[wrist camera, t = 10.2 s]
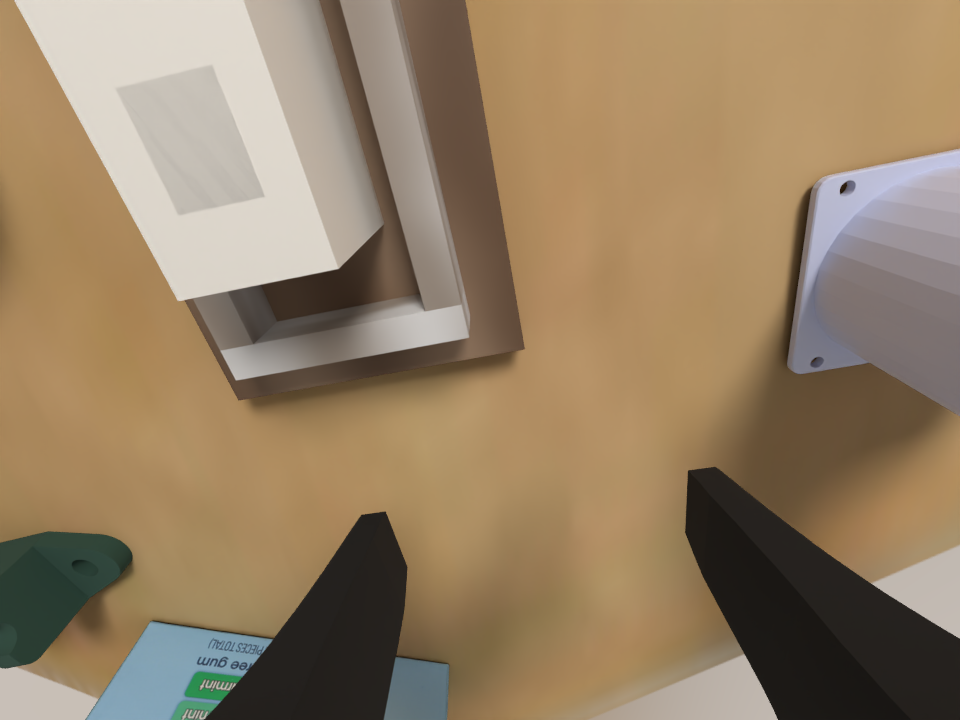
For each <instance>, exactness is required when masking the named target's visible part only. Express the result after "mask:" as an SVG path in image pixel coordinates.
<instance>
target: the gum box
mask: <svg viewBox="0 0 960 720" xmlns="http://www.w3.org/2000/svg"><path fill="white" fill-rule="evenodd" d="M272 640H273V639H268V638H261V637H254V636H247V635H240V634H234V633H227V632H220V631H213V630H206V629H200V628H193V627H186V626H179V625H173V624H166V623H160V622H154V621H150V623H149V624H148V626H147V627H146V629H145V630H144V632H143V633H142V635H141V636H140V638H139V639H138V641H137V642H136V644H135V645H134V647H133V648H132V650H131V651H130V653H129V654H128V656H127V657H126V659H125V660H124V662H123V663H122V665H121V666H120V668H119V669H118V671H117V672H116V674H115V675H114V677H113V678H112V680H111V682H110V683H109V685H108V686H107V688H106V689H105V691H104V692H103V694H102V695H101V697H100V698H99V700H98V701H97V703H96V704H95V706H94V707H93V709H92V710H91V712H90V713H89V715H88V717H87V718H86V719H85V720H204V719H205V718H206V717H207V716H208V715H209V714H210V713H211V712H212V710H213V709H214V708H215V707H216V706H217V705H218V704H219V703H220V702H221V701H222V700H223V698H224V697H225V696H226V695H227V694H228V693H229V692H230V691H231V690H232V688H233V687H234V686H235V685H236V684H237V683H238V681H239V680H240V679H241V678H242V677H243V676H244V674H245V673H246V672H247V671H248V670H249V669H250V667H251V666H252V665H253V664H254V663H255V661H256V660H257V659H258V658H259V657H260V655H261V654H262V653H263V652H264V650H265V649H266V648H267V647H268V645H269V644H270V643H271V642H272ZM448 682H449V665H448V664H444V663H436V662H429V661H422V660H415V659H408V658H401V657H396V658H395V663H394V669H393V674H392V679H391V684H390V690H389V695H388V700H387V706H386V711H385V716H384V720H447V709H448Z"/></svg>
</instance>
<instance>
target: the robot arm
mask: <svg viewBox="0 0 960 720" xmlns="http://www.w3.org/2000/svg"><path fill="white" fill-rule="evenodd" d="M846 181H847V188H846V190H845V191H844V192H843V193H841V194H840V188H841V186H842V185H843V184H844V183H845V182H846ZM816 357H817V359H816V360H815V361H814V362H812V363H811V361H812V360H813V359H814V358H816ZM866 363H871V364H873V365H874V366H876V367H878V368H879V369H881V370H883V371H884V372H886V373H888V374H890V375H891V376H893V377H895V378H896V379H898V380H900V381H901V382H903V383H905V384H906V385H908V386H910V387H911V388H913V389H915V390H916V391H918V392H920V393H922V394H923V395H925V396H927V397H928V398H930V399H932V400H933V401H935V402H937V403H938V404H940V405H942V406H943V407H945V408H947V409H948V410H950V411H952V412H954V413H955V414H957V415H959V416H960V149H956V150H951V151H946V152H941V153H936V154H931V155H926V156H921V157H916V158H911V159H907V160H902V161H897V162H892V163H887V164H882V165H877V166H872V167H867V168H862V169H857V170H852V171H847V172H842V173H837V174H832V175H828V176H825V177H823V178H821V179H820V180H818V181H817V182H816V184H815V185H814V186H813V188H812V191H811V196H810V203H809V211H808V218H807V225H806V232H805V239H804V246H803V254H802V261H801V268H800V275H799V282H798V289H797V296H796V304H795V311H794V318H793V325H792V332H791V339H790V347H789V354H788V361H787V365H788V367H789V369H790V370H792V371H793V372H794V373H797V374H805V373H811V372H817V371H823V370H829V369H836V368H842V367H848V366H854V365H860V364H866ZM685 533H686V536H687V538H688V541H689V543H690V546H691V548H692V551H693V553H694V556H695V558H696V561H697V563H698V566H699V568H700V570H701V573H702V575H703V577H704V579H705V581H706V583H707V585H708V587H709V589H710V591H711V593H712V594H713V596H714V598H715V600H716V602H717V604H718V606H719V608H720V609H721V611H722V613H723V615H724V617H725V619H726V621H727V622H728V624H729V626H730V628H731V630H732V632H733V633H734V635H735V637H736V639H737V641H738V643H739V645H740V646H741V648H742V650H743V652H744V654H745V656H746V657H747V659H748V661H749V663H750V665H751V667H752V669H753V670H754V672H755V674H756V676H757V678H758V680H759V681H760V683H761V685H762V687H763V689H764V691H765V693H766V695H767V697H768V699H769V701H770V703H771V705H772V707H773V709H774V712H775V714H776V716H777V718H778V720H960V639H959V638H958V637H956V636H954V635H953V634H951V633H949V632H947V631H946V630H944V629H942V628H941V627H939V626H937V625H936V624H934V623H932V622H931V621H929V620H927V619H926V618H924V617H923V616H921V615H920V614H918V613H916V612H915V611H913V610H911V609H910V608H908V607H907V606H905V605H903V604H902V603H900V602H898V601H897V600H895V599H894V598H892V597H890V596H889V595H887V594H886V593H884V592H883V591H881V590H880V589H878V588H877V587H875V586H874V585H872V584H871V583H869V582H868V581H866V580H865V579H863V578H862V577H860V576H859V575H857V574H856V573H855V572H853V571H852V570H850V569H849V568H847V567H846V566H844V565H843V564H842V563H840V562H839V561H837V560H836V559H834V558H833V557H832V556H830V555H829V554H827V553H826V552H825V551H823V550H822V549H821V548H819V547H818V546H816V545H815V544H814V543H812V542H811V541H810V540H808V539H807V538H806V537H804V536H803V535H802V534H800V533H799V532H798V531H796V530H795V529H794V528H792V527H791V526H790V525H788V524H787V523H786V522H784V521H783V520H782V519H781V518H779V517H778V516H777V515H775V514H774V513H773V512H772V511H770V510H769V509H768V508H766V507H765V506H764V505H763V504H761V503H760V502H759V501H758V500H756V499H755V498H754V497H753V496H751V495H750V494H749V493H748V492H746V491H745V490H744V489H743V488H741V487H740V486H739V485H738V484H737V483H735V482H734V481H733V480H732V479H730V478H729V477H728V476H727V475H725V474H724V473H723V472H722V471H720V470H719V469H718V468H716V467H711V468H704V469H696V470H689V471H688V484H687V506H686V529H685ZM406 580H407V565H406V563H405V560H404V557H403V555H402V552H401V550H400V547H399V545H398V542H397V540H396V537H395V534H394V532H393V529H392V527H391V524H390V522H389V519H388V516H387V514H386V512H379V513H372V514H365V515H361V517H360V518H359V519H358V521H357V522H356V524H355V525H354V526H353V528H352V529H351V531H350V532H349V534H348V535H347V537H346V538H345V540H344V541H343V543H342V544H341V546H340V547H339V549H338V550H337V552H336V553H335V555H334V556H333V558H332V559H331V561H330V562H329V564H328V565H327V567H326V568H325V570H324V571H323V572H322V574H321V575H320V577H319V578H318V579H317V581H316V582H315V584H314V585H313V587H312V588H311V589H310V591H309V592H308V594H307V595H306V597H305V598H304V599H303V601H302V602H301V603H300V605H299V606H298V608H297V609H296V610H295V612H294V613H293V614H292V615H291V617H290V618H289V619H288V621H287V622H286V623H285V625H284V626H283V627H282V629H281V630H280V631H279V633H278V634H277V635H276V636H275V638H274V639H273V640H272V642H271V643H270V644H269V645H268V647H267V648H266V649H265V650H264V652H263V653H262V654H261V655H260V657H259V658H258V659H257V660H256V661H255V663H254V664H253V665H252V666H251V667H250V669H249V670H248V671H247V672H246V673H245V674H244V676H243V677H242V678H241V679H240V680H239V681H238V683H237V684H236V685H235V686H234V687H233V688H232V690H231V691H230V692H229V693H228V694H227V695H226V696H225V697H224V698H223V700H222V701H221V702H220V703H219V704H218V705H217V706H216V707H215V708H214V709H213V710H212V712H211V713H210V714H209V715H208V716H207V717H206V718H205V719H204V720H384V716H385V711H386V706H387V700H388V695H389V690H390V684H391V679H392V674H393V669H394V663H395V658H396V653H397V648H398V642H399V637H400V631H401V626H402V620H403V614H404V606H405V594H406Z"/></svg>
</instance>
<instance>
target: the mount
mask: <svg viewBox="0 0 960 720" xmlns="http://www.w3.org/2000/svg"><path fill="white" fill-rule="evenodd" d="M131 561H132V552H131V550H130V549H129V548H128V547H127V546H126V545H125V544H124V543H123V542H121V541H120V540H118V539H116V538H113V537H111V536H107V535H101V534H85V533H67V532H49V531H48V532H44V533H40V534H35V535H31V536H27V537H23V538H19V539H14V540H10V541H6V542H2V543H0V668H11V667H16V666H21V665H26V664H31V663H33V662H35V661H36V660H38V659H39V658H40V657H41V656H42V655H43V653H44V652H45V651H46V650H47V648H48V647H49V646H50V645H51V644H52V642H53V641H54V640H55V639H56V638H57V636H58V635H59V634H60V633H61V632H62V630H63V629H64V628H65V627H66V626H67V624H68V623H69V622H70V621H71V620H72V618H73V617H74V616H75V615H76V614H77V612H78V611H79V610H80V609H81V608H82V606H83V605H84V604H85V603H86V602H87V600H88V599H89V598H90V597H92V596H93V595H94V594H96V593H97V592H99V591H100V590H102V589H103V588H104V587H106V586H107V585H109V584H110V583H111V582H113V581H114V580H116V579H117V578H118V577H119V576H120V574H121V573H122V572H123V571H124V570H125V568H126V567H127V566H128V565H129V563H130V562H131Z"/></svg>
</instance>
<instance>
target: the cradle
mask: <svg viewBox="0 0 960 720" xmlns="http://www.w3.org/2000/svg"><path fill="white" fill-rule="evenodd" d="M319 1H320V5H321V8H322V12H323V15H324V19H325V22H326V25H327V29H328V32H329V36H330V39H331V43H332V46H333V50H334V53H335V56H336V60H337V63H338V67H339V70H340V74H341V77H342V80H343V84H344V87H345V91H346V94H347V98H348V101H349V105H350V108H351V111H352V115H353V118H354V122H355V125H356V129H357V132H358V135H359V139H360V142H361V146H362V149H363V153H364V156H365V160H366V163H367V166H368V170H369V173H370V177H371V180H372V184H373V187H374V191H375V194H376V197H377V201H378V204H379V208H380V211H381V215H382V218H383V221H384V225H383V226H382V227H380V228H379V229H378V230H377V231H376V232H375V233H374V234H373V235H372V236H371V237H370V238H369V239H368V240H367V241H366V242H365V243H364V244H363V245H362V246H361V247H360V248H359V249H358V250H357V251H356V252H355V253H354V254H353V255H352V256H351V257H350V258H349V259H348V260H347V261H346V262H345V263H344V264H343V265H342V266H341V267H340V268H339V269H336V270H331V271H326V272H321V273H316V274H311V275H306V276H301V277H296V278H291V279H286V280H281V281H276V282H271V283H266V284H261V285H256V286H251V287H246V288H241V289H236V290H231V291H227V292H222V293H217V294H212V295H207V296H202V297H197V298H192V299H187V300H185V302H186V304H187V305H188V307H189V309H190V311H191V313H192V315H193V317H194V318H195V320H196V322H197V324H198V326H199V328H200V330H201V331H202V333H203V335H204V337H205V339H206V341H207V343H208V344H209V346H210V348H211V350H212V352H213V354H214V356H215V357H216V359H217V361H218V363H219V365H220V367H221V369H222V370H223V372H224V374H225V376H226V378H227V380H228V382H229V383H230V385H231V387H232V389H233V391H234V393H235V395H236V396H237V398H238V400H244V399H250V398H255V397H261V396H266V395H272V394H278V393H283V392H289V391H294V390H300V389H305V388H311V387H317V386H322V385H328V384H333V383H339V382H345V381H350V380H356V379H361V378H367V377H372V376H378V375H384V374H389V373H395V372H400V371H406V370H411V369H417V368H423V367H428V366H434V365H439V364H445V363H450V362H456V361H462V360H467V359H473V358H478V357H484V356H490V355H495V354H501V353H506V352H512V351H517V350H523V349H525V348H524V342H523V336H522V330H521V325H520V319H519V313H518V307H517V301H516V295H515V289H514V284H513V278H512V272H511V266H510V260H509V254H508V248H507V242H506V237H505V231H504V225H503V219H502V213H501V207H500V201H499V196H498V190H497V184H496V178H495V172H494V166H493V160H492V155H491V149H490V143H489V137H488V131H487V125H486V119H485V114H484V108H483V102H482V96H481V90H480V84H479V78H478V73H477V67H476V61H475V55H474V49H473V43H472V37H471V31H470V26H469V20H468V14H467V8H466V2H465V0H319Z"/></svg>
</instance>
